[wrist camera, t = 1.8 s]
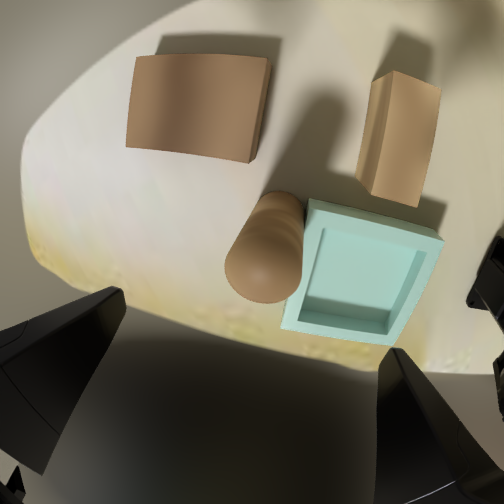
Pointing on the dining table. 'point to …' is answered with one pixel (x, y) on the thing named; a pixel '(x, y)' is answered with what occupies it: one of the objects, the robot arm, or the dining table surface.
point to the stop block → (398, 137)
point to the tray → (359, 274)
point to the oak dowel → (268, 250)
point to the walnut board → (198, 104)
